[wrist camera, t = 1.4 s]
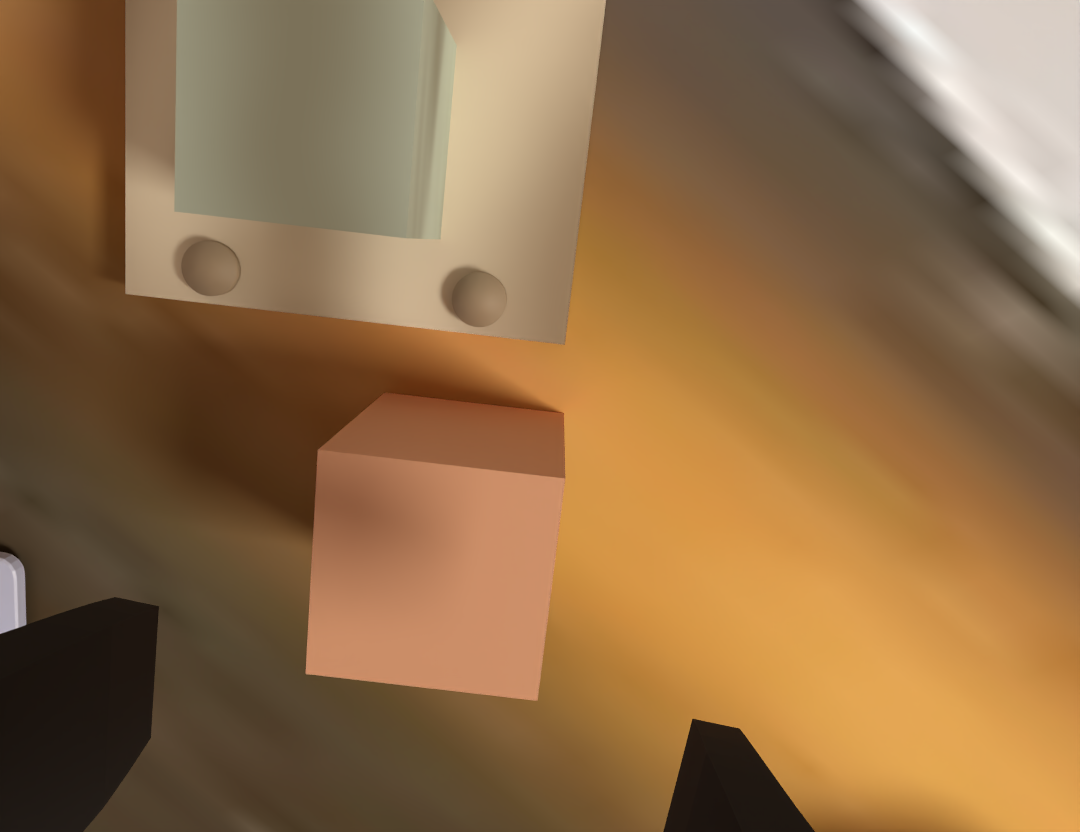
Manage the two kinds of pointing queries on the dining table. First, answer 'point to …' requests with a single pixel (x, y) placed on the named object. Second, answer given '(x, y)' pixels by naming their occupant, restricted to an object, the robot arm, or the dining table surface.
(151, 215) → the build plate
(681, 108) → the dining table surface
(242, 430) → the dining table surface
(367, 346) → the dining table surface
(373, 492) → the terracotta block
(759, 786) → the robot arm
